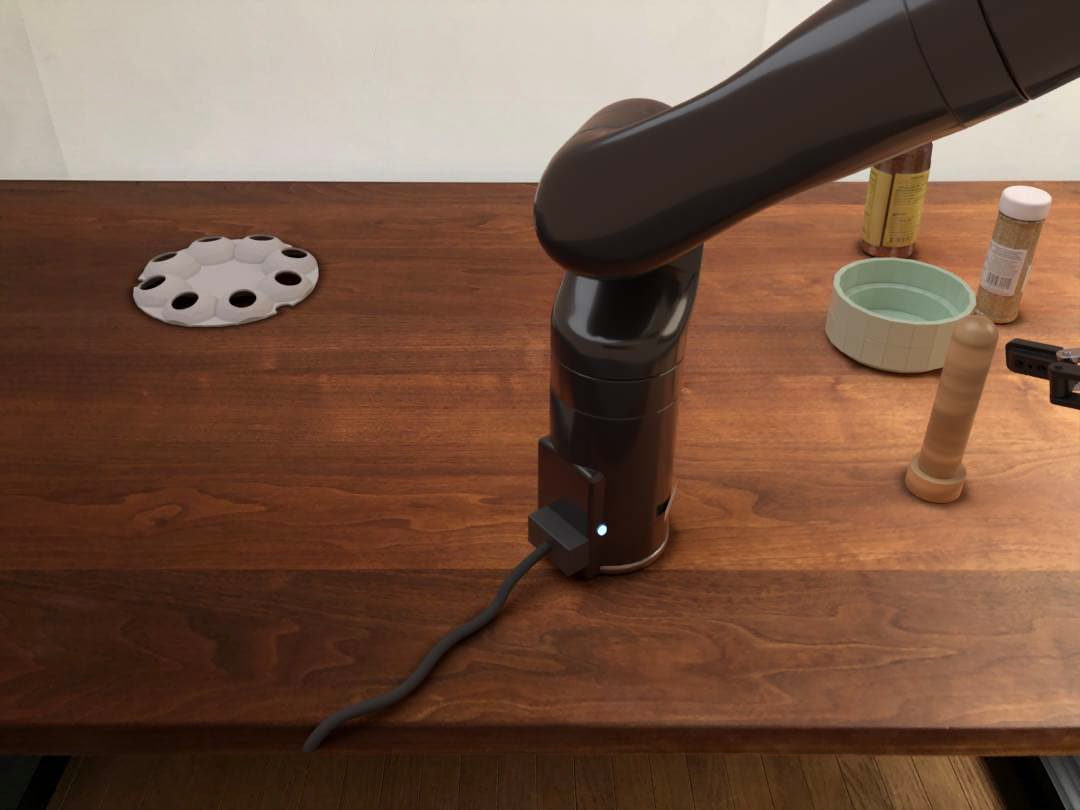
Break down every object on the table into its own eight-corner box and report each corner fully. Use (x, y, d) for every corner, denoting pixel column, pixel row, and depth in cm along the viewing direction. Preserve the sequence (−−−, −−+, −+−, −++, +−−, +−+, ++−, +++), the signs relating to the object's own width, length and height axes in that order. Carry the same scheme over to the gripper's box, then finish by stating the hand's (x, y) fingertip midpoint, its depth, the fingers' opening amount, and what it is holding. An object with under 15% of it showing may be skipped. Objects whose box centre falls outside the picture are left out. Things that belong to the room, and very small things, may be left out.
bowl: (906, 394, 98) (920, 339, 94) (796, 335, 106) (805, 282, 103) (988, 348, 104) (1004, 295, 101) (878, 296, 113) (889, 245, 109)
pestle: (939, 510, 84) (989, 339, 75) (893, 482, 87) (936, 315, 78) (971, 489, 86) (1024, 320, 77) (926, 462, 89) (971, 297, 80)
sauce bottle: (920, 246, 122) (960, 75, 111) (904, 267, 118) (944, 92, 106) (865, 233, 125) (898, 65, 114) (847, 253, 121) (880, 81, 109)
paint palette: (259, 341, 105) (256, 323, 103) (94, 308, 110) (89, 291, 109) (350, 255, 120) (348, 239, 119) (201, 230, 125) (198, 214, 124)
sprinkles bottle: (1025, 317, 109) (1063, 196, 101) (997, 329, 107) (1033, 207, 99) (988, 298, 112) (1022, 180, 105) (960, 310, 110) (992, 190, 102)
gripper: (1380, 271, 61) (1105, 241, 74) (1252, 370, 55) (978, 318, 68) (1369, 387, 64) (1107, 338, 77) (1247, 492, 58) (985, 420, 71)
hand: (1047, 329), depth 72 cm, fingers open, 8 cm apart
